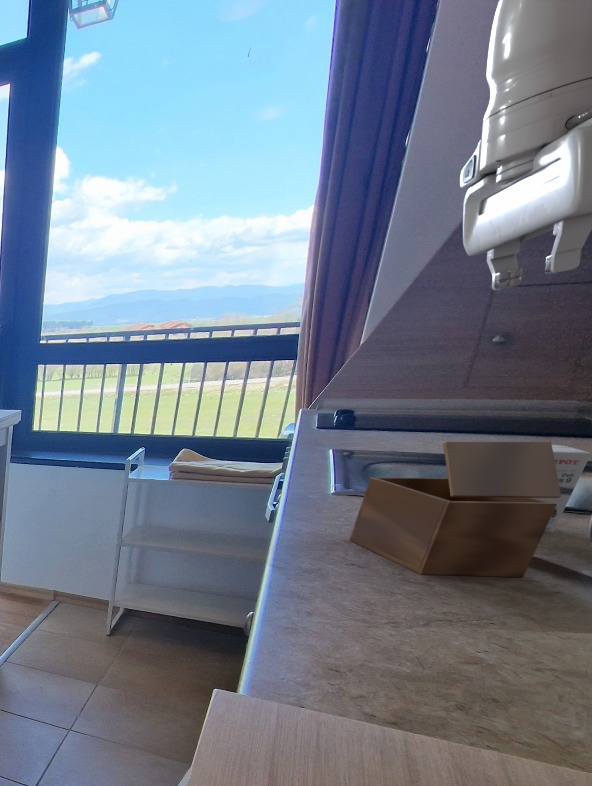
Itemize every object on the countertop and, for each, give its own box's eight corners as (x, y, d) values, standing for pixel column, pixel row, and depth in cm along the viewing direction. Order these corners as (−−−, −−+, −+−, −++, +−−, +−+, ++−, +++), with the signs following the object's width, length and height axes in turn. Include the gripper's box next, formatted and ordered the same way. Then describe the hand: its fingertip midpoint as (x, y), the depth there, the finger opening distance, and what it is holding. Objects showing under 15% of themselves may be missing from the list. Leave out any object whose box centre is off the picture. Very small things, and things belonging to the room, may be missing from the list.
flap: (547, 443, 68) (551, 441, 68) (557, 498, 67) (561, 496, 66) (442, 443, 70) (445, 441, 69) (450, 496, 68) (453, 495, 68)
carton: (435, 542, 82) (460, 477, 79) (523, 577, 70) (557, 503, 67) (348, 540, 84) (370, 477, 80) (420, 574, 72) (449, 502, 69)
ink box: (463, 538, 83) (500, 448, 79) (444, 527, 87) (478, 442, 83) (550, 543, 80) (594, 451, 76) (526, 532, 84) (566, 444, 80)
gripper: (676, 72, 53) (654, 249, 56) (528, 158, 71) (516, 289, 74) (569, 102, 56) (552, 269, 58) (452, 177, 73) (444, 303, 76)
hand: (531, 280), depth 66 cm, fingers open, 8 cm apart
